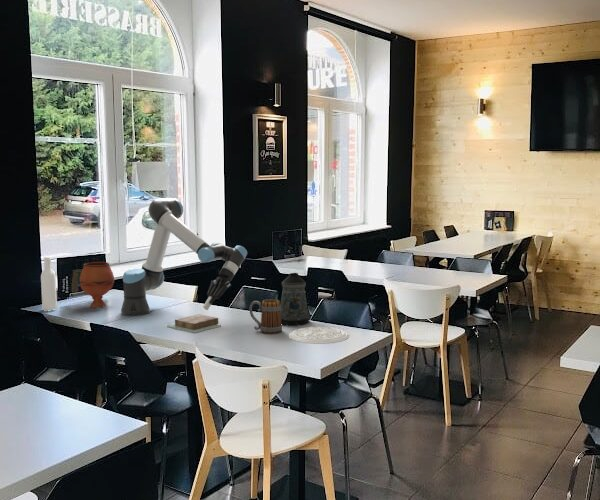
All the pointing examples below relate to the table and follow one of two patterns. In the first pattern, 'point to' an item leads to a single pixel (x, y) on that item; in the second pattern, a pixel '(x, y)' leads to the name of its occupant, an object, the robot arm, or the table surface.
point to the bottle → (48, 286)
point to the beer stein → (294, 301)
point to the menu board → (196, 321)
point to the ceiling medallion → (318, 335)
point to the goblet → (96, 281)
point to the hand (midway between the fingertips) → (205, 308)
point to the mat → (192, 329)
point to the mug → (268, 316)
